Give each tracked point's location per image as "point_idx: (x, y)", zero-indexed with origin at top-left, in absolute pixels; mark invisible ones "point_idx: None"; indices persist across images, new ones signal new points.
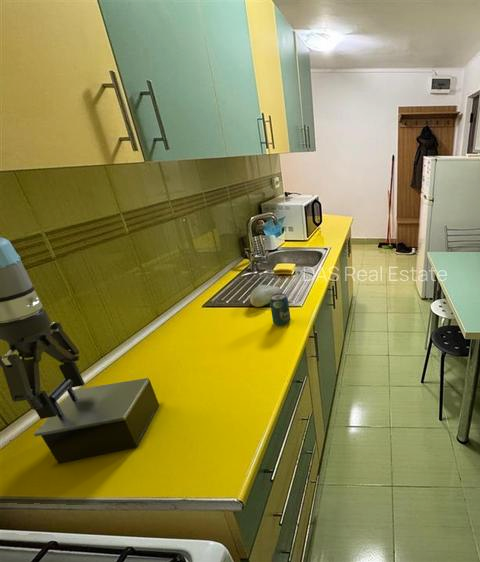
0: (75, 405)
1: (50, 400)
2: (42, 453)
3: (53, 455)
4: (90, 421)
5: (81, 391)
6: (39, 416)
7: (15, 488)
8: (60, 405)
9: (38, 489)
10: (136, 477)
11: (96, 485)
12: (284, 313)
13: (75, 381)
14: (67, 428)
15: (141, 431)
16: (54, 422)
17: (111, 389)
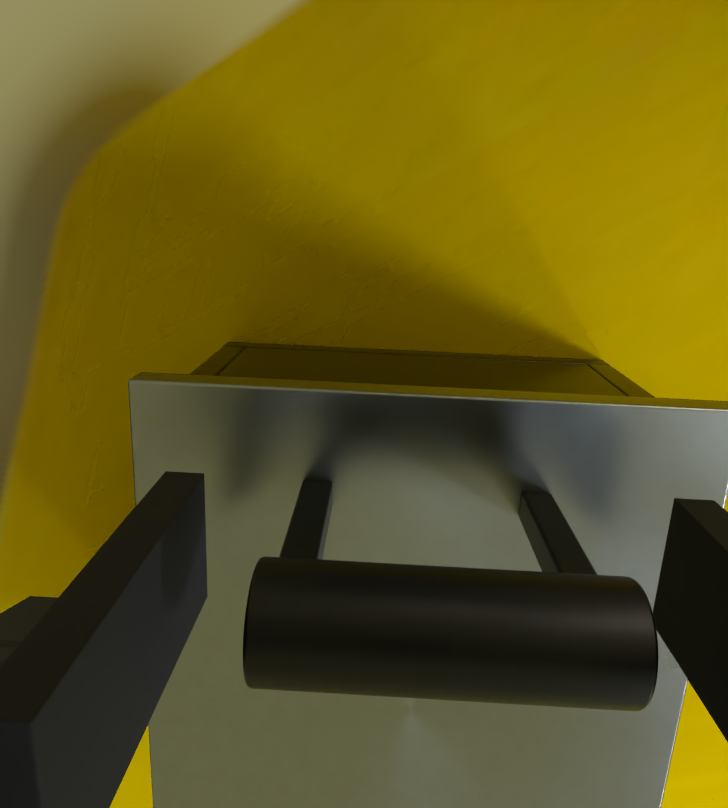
0: (439, 546)
1: (142, 735)
2: (348, 188)
3: (208, 359)
4: (173, 746)
5: (668, 502)
6: (151, 491)
7: (104, 190)
8: (491, 409)
9: (71, 328)
10: None
11: None
12: None
13: (693, 625)
14: None
15: None
16: (240, 479)
17: (574, 750)
